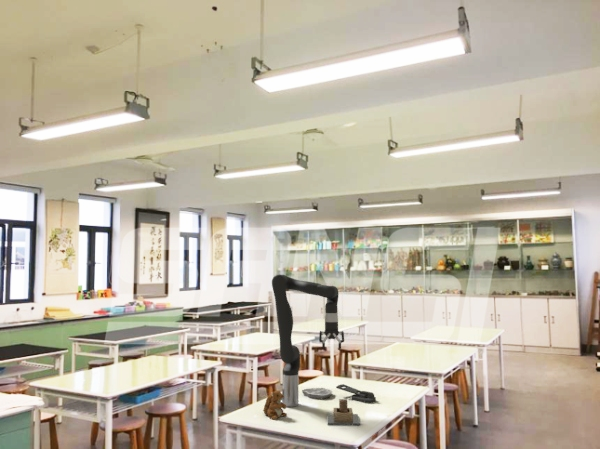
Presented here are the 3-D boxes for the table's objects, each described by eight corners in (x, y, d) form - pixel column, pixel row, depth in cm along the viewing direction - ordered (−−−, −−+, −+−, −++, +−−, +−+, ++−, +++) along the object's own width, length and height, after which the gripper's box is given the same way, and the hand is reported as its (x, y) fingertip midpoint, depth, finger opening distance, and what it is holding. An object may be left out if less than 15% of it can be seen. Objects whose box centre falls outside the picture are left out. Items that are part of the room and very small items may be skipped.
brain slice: (339, 396, 296) (339, 391, 296) (321, 401, 283) (321, 396, 283) (315, 391, 309) (315, 386, 309) (297, 396, 296) (297, 391, 296)
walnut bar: (339, 419, 243) (339, 401, 244) (339, 417, 247) (339, 399, 248) (347, 419, 243) (347, 401, 244) (347, 417, 247) (346, 399, 247)
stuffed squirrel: (275, 420, 245) (276, 394, 246) (257, 415, 254) (257, 389, 256) (289, 416, 252) (289, 390, 253) (271, 411, 262) (271, 386, 263)
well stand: (327, 425, 237) (327, 414, 237) (327, 415, 253) (327, 406, 253) (360, 425, 236) (359, 415, 237) (357, 416, 252) (357, 406, 253)
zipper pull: (342, 383, 299) (377, 389, 284) (343, 394, 298) (377, 401, 283) (334, 386, 292) (369, 392, 277) (334, 397, 292) (370, 404, 276)
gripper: (319, 321, 269) (319, 350, 268) (344, 321, 269) (344, 350, 267) (319, 320, 277) (319, 348, 275) (343, 320, 276) (343, 348, 274)
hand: (331, 349), depth 271 cm, fingers open, 8 cm apart
